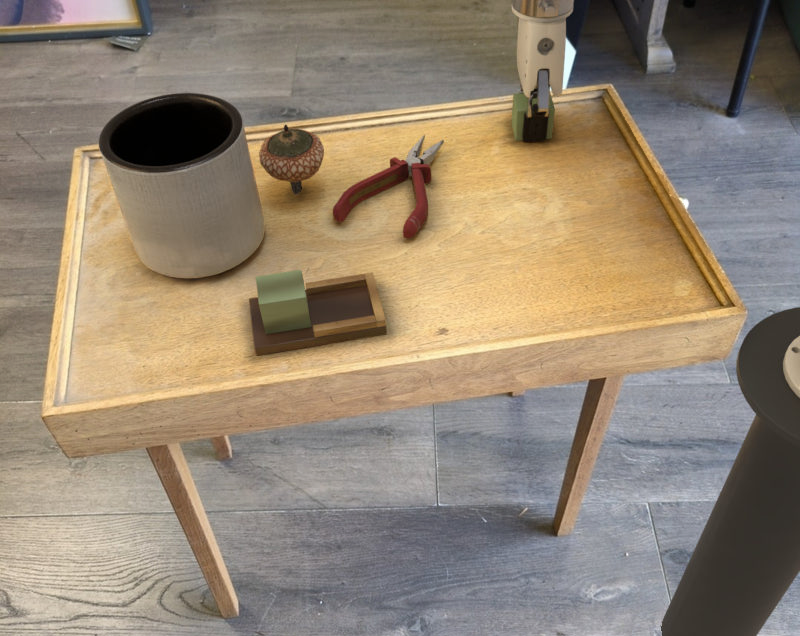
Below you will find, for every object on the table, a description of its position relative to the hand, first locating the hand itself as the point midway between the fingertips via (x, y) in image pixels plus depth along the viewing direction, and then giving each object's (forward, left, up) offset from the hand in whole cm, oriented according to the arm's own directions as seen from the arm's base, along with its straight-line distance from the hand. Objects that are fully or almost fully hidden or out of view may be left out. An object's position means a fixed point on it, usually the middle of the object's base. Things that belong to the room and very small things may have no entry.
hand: (531, 128), depth 115 cm
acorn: (+19, +28, -1) cm, 34 cm away
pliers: (+6, +21, -1) cm, 22 cm away
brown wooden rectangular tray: (+3, +45, 0) cm, 45 cm away
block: (0, 0, 0) cm, 0 cm away
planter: (+23, +42, -1) cm, 48 cm away
